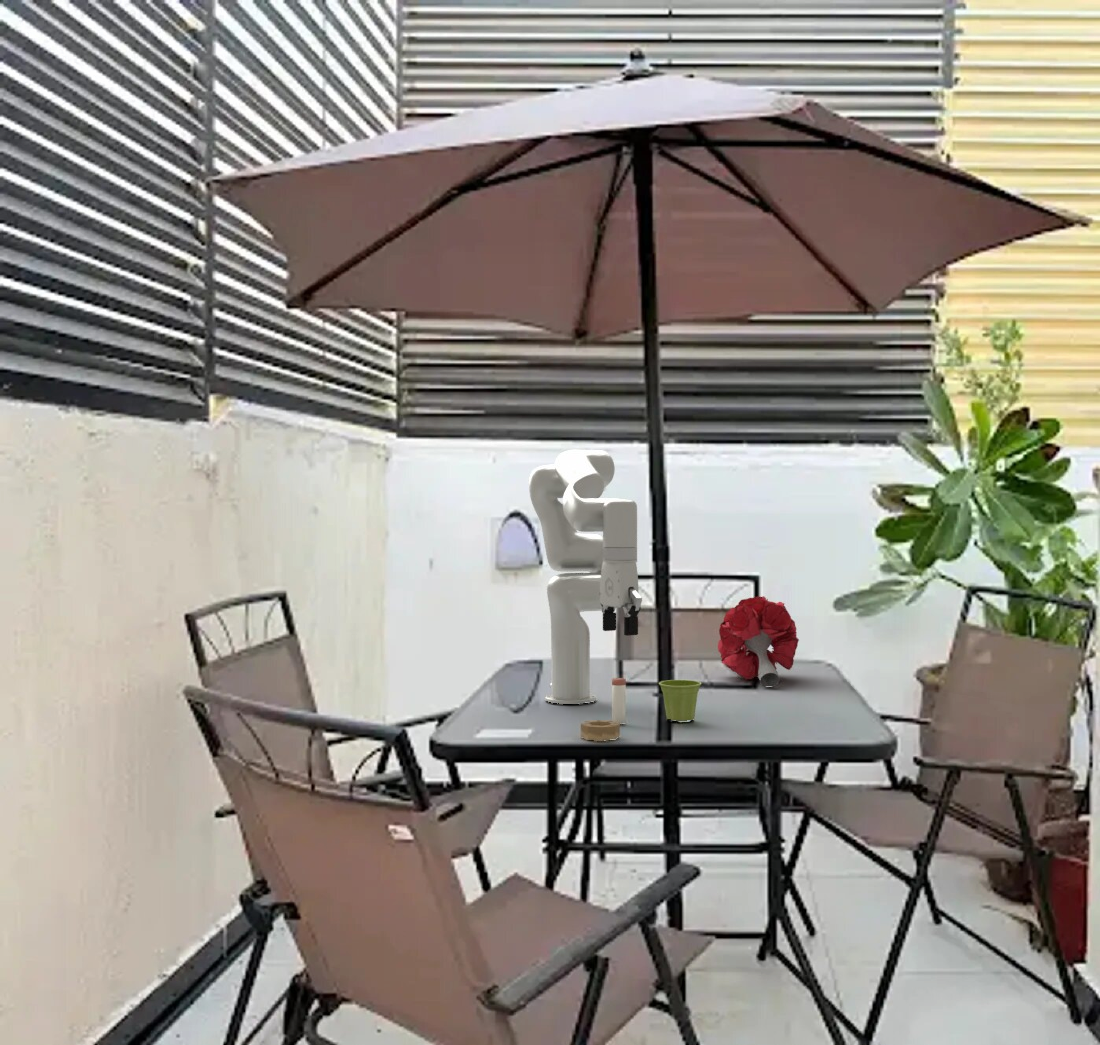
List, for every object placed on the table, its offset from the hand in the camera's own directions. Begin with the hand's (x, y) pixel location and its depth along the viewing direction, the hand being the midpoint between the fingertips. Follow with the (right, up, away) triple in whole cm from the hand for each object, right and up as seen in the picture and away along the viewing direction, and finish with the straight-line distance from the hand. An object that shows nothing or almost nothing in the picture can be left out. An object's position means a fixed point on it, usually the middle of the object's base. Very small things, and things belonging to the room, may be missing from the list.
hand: (620, 632), depth 264 cm
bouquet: (+42, -19, +64) cm, 79 cm away
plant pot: (+14, -20, +4) cm, 25 cm away
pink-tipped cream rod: (0, -20, +1) cm, 20 cm away
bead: (-5, -21, -15) cm, 26 cm away
